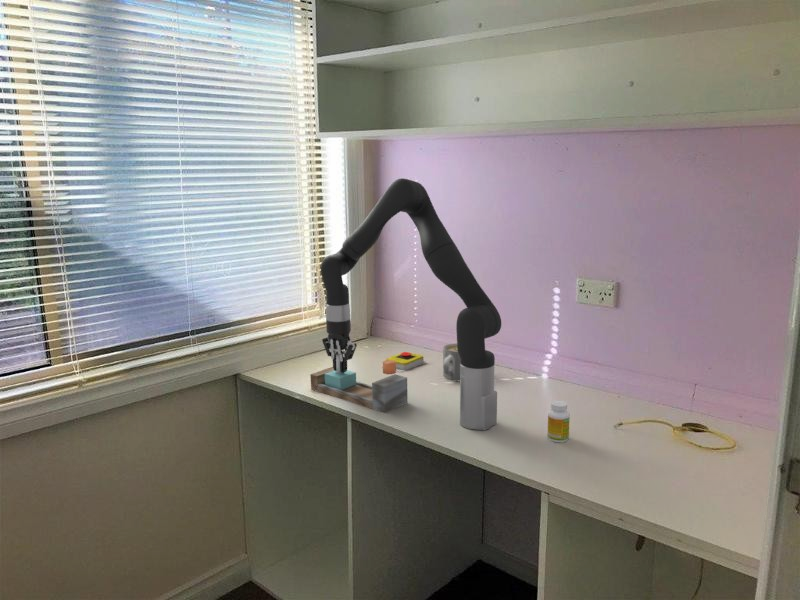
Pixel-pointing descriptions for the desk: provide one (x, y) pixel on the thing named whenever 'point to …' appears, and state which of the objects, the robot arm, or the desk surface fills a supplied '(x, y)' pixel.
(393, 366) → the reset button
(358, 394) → the rail
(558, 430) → the supplement bottle
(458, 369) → the coffee mug
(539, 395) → the desk surface
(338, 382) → the carriage
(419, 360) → the emergency button
